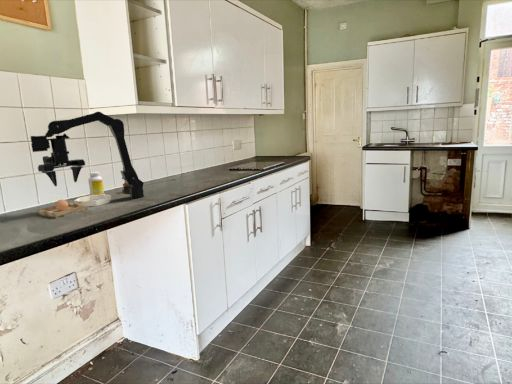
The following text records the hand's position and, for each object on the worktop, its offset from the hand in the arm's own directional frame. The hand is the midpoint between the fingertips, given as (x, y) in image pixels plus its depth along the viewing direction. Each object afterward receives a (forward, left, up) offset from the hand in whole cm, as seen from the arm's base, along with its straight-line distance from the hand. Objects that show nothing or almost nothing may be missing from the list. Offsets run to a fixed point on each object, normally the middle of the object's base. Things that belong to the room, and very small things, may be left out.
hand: (65, 184), depth 159 cm
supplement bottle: (+13, -23, -12) cm, 29 cm away
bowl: (-2, -11, -12) cm, 16 cm away
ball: (-4, +5, -11) cm, 13 cm away
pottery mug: (+3, -37, -12) cm, 39 cm away
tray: (-4, +5, -12) cm, 13 cm away
